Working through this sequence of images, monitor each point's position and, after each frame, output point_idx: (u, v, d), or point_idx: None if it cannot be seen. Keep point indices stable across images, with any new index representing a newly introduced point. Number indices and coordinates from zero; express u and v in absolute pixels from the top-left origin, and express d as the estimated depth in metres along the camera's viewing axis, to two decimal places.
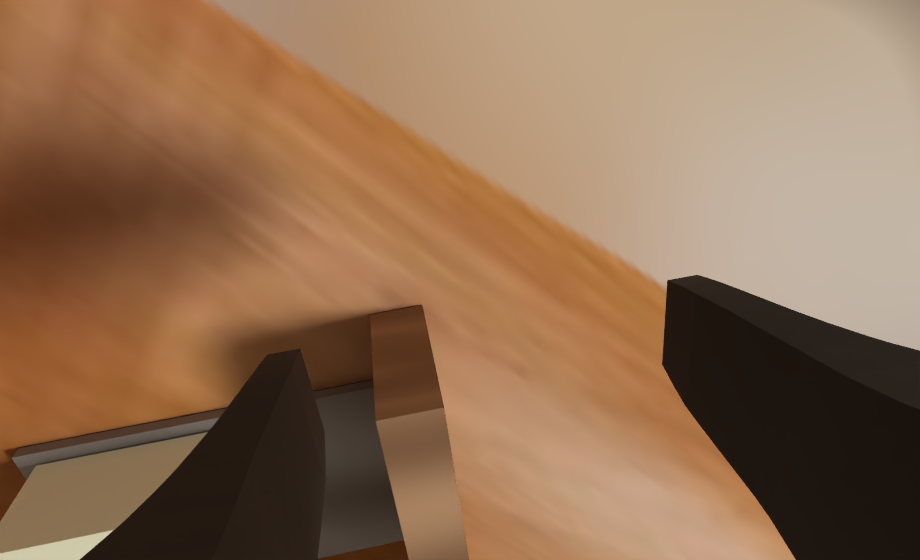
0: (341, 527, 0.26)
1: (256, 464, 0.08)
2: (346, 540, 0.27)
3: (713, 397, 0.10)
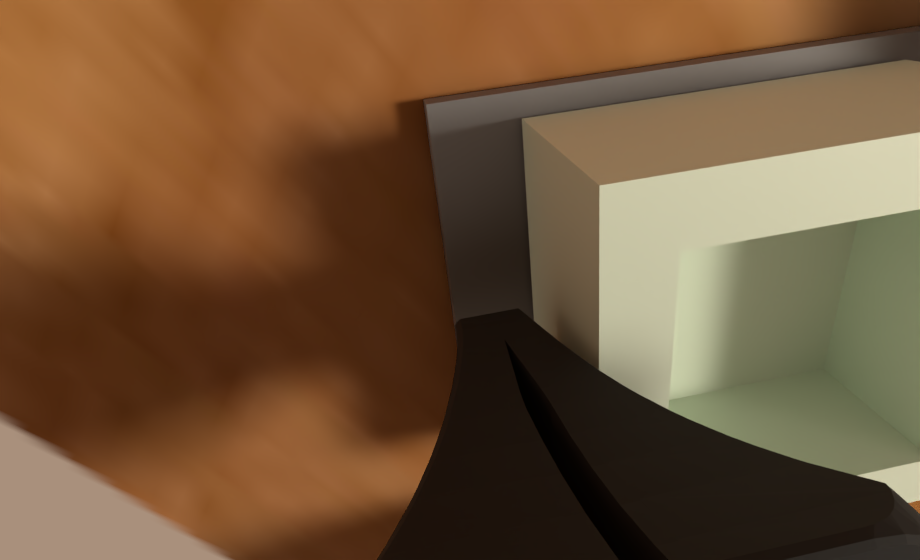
0: None
1: None
2: None
3: None
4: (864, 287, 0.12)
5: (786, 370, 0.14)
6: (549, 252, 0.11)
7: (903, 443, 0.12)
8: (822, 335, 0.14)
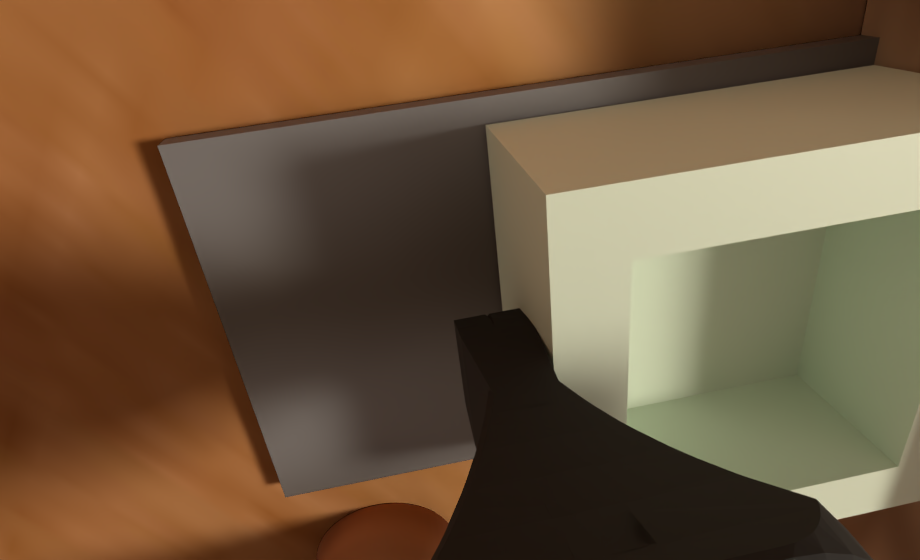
0: None
1: None
2: None
3: None
4: (833, 293, 0.12)
5: (759, 376, 0.14)
6: (512, 259, 0.11)
7: (871, 450, 0.12)
8: (794, 341, 0.14)
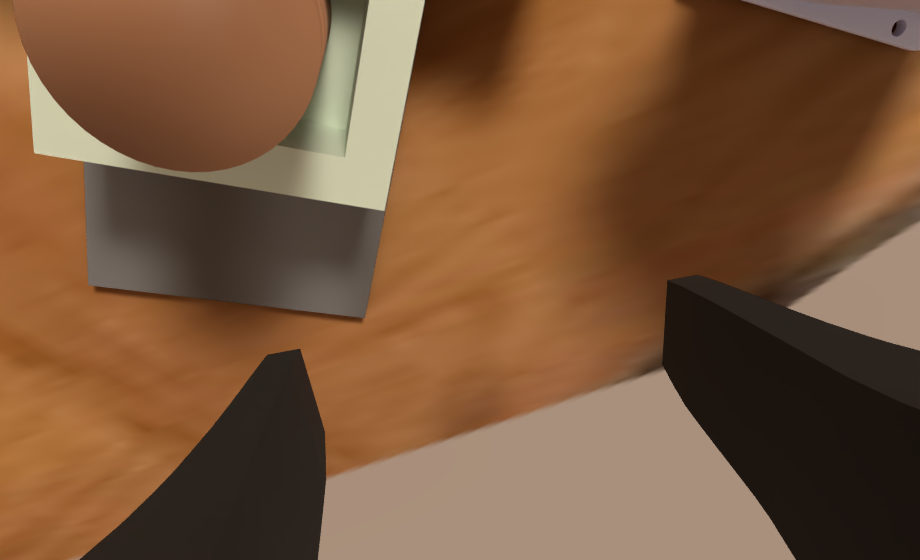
0: None
1: (256, 464, 0.08)
2: None
3: (713, 397, 0.10)
4: None
5: None
6: None
7: None
8: None
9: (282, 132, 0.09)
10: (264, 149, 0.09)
